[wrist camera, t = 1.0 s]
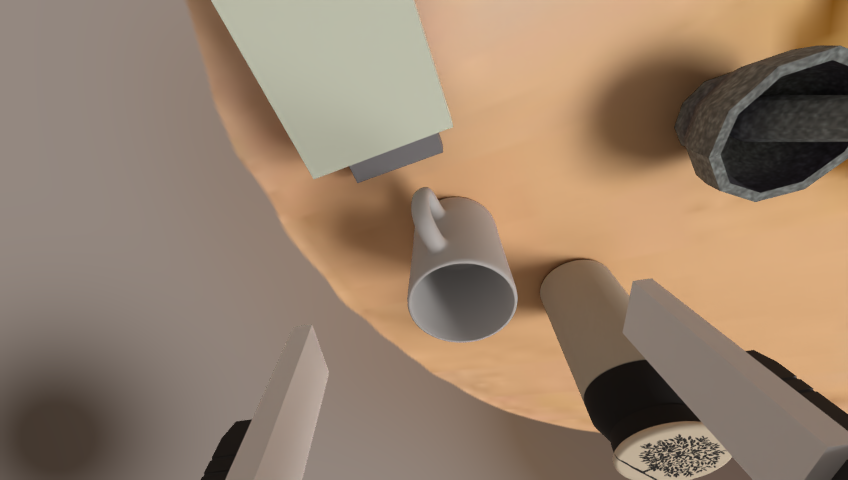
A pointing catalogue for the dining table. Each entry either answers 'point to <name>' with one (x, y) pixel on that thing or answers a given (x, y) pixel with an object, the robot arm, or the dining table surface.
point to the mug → (458, 270)
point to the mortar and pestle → (770, 123)
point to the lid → (341, 74)
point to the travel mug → (624, 380)
